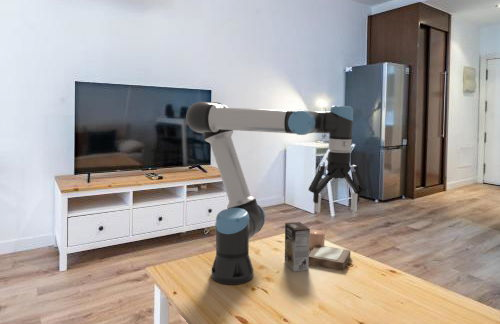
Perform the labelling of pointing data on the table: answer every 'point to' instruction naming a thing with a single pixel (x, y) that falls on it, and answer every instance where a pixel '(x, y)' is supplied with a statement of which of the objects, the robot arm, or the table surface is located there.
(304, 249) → the coffee box
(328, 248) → the walnut picture frame
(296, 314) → the table surface
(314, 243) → the peach glossy stubby part
